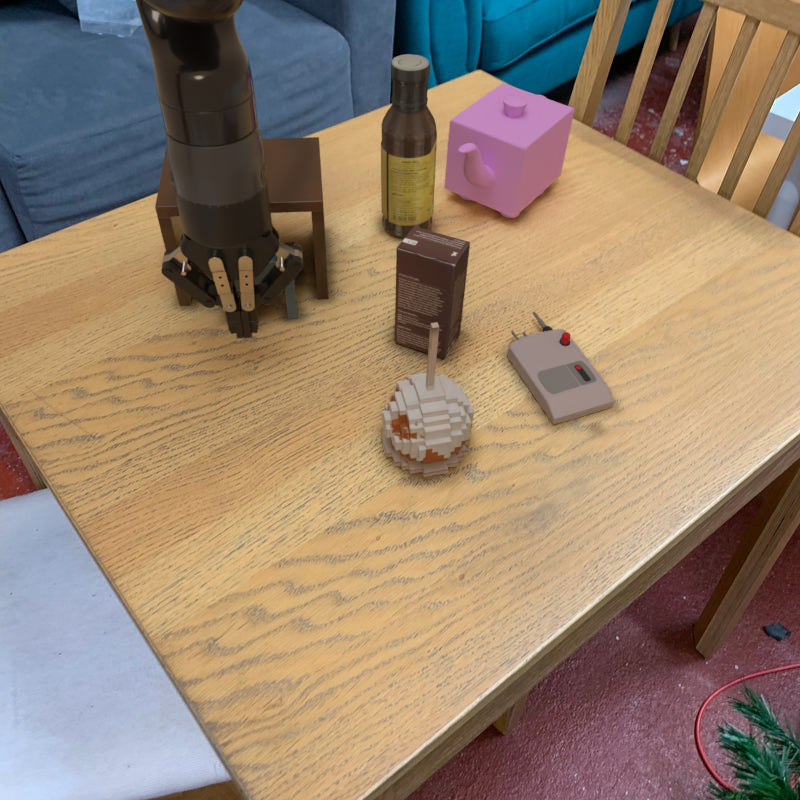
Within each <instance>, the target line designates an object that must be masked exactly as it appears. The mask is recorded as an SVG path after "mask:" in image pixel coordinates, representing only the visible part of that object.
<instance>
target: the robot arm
mask: <svg viewBox="0 0 800 800" xmlns="http://www.w3.org/2000/svg"><path fill="white" fill-rule="evenodd" d="M244 2H245V0H135V3H136V7H137V10H138V14H139V17H140V20H141V25H142V28H143V30H144V33H145V37H146V40H147V43H148V47H149V50H150V55H151V61H152V67H153V72H154V82H155V88H156V94H157V98H158V103H159V107H160V112H161V117H162V122H163V127H164V133H165V150H166V149H167V158H168V163H169V175H170V179H171V182H172V183H173V187H174V192H175V196H176V201H177V205H178V210H179V215H180V220H181V224H182V229H183V234H182V237H181V244H180V247H178V248H177V249H176V250H166V249H165V250H164V253H163V257H162V262H161V274H162V275H163V276H164V277H165V278H166V279H168V280H169V281H170V282H172V283H173V285H174V284H176V285H177V286H178V287H180V288H181V289H182V290H184V291H185V292H186V293H188V294H189V295H190V296H192V299H194V300H196V301H197V302H198V303H199V304H201V305H202V306H203V307H205V308H208V309H212V308H215V306H217V307H221V308H222V309H223V310H224V312H225V318H226V324H227V328H228V331H229V333H230V334H232V335H233V334H234V335H236V339H253V334H256V333H258V330H259V313H258V312H259V311H258V306H259V305H265V306H271V305H272V304H273V303H274V302H275V301H276V300H277V299H278V298H279V296H280V295H281V294H282V293H283V291H285V290H284V289H285V288H286V287H287V286H288V285H289V283H290V282H291V281H292V280H293V279H294V278H295V277H296V275H297V276H298V275H299V273H300V272H301V271H302V270H303V268H304V258H303V247H302V246H301V245H299V244H297V243H296V244H295V243H294V245H292V246H288V245H286V244H284V242H282V241H281V240H280V234H279V232H278V231H277V230H276V228H275V227H274V225H273V221H272V213H271V211H270V201H269V192H268V183H267V170H266V164H265V155H264V147H263V143H262V139H263V138H262V135H261V132H260V127H259V123H258V122H259V121H258V113H257V104H256V95H255V93H256V92H255V85H254V78H253V73H252V68H251V64H250V61H249V57H248V55H247V52H246V50H245V48H244V46H243V43H242V41H241V39H240V36H239V34H238V31H237V26H236V20H235V14H236V13H237V12H238V11H239V10H240V8H241V7H242V5H243V4H244ZM274 255H276V258H275V262H276V264H275V265H274V266H273V268H272V269H271V270H270V271H269V272H268V274H267V275H266V276H265V277H264V278H263V279H262V281H261V283H260V284H257V285H255V277H257V276H258V275H259V274H261V272H262V271H263V270H264V268H265V267H266V266H267V265H268V263H269V262H270V261H271V259H272V258H273V257H274ZM192 263H194V264H195V266H193V265H192ZM212 279H213V280H212ZM235 280H240V291H239V292H240V295H238V294H239V293H238V292H237V288H236V284H235Z"/></svg>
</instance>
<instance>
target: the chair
mask: <svg viewBox="0 0 800 800" xmlns="http://www.w3.org/2000/svg"><path fill="white" fill-rule="evenodd" d="M283 243H284V244H286V245H288V246H292V245H295V242H294V241H290V242H289V241H288V242H283ZM275 258H276V255H274V257H273V258H272V259H271V261H270V262H269V263H268V265H267V266H266V267H265V268H264V270H263V271H262V272H261V274H259V275H258V276H257V277H255V285H257V284H260V283H261V281H262V279H263V278H264V277H265V276H266V275H267V274H268V272H269V271H270V270H271V269H272V268H273V266H274V265H275V264H276V262H275ZM297 281H298V274H297V275H296V277H295V278H294V279H293V280H292V281H291V282H290V283H289V285H288V286H287V287H286V288H285V289H284V290H283V291H284V294H285V303H286V311H287V312H286V313H287V319H289V320H290V319H298V303H297V292H296V285H295V284H296V283H295V282H297ZM235 284H236V288H237V293H238V292H240V280H235Z"/></svg>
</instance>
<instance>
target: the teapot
mask: <svg viewBox="0 0 800 800" xmlns="http://www.w3.org/2000/svg"><path fill="white" fill-rule="evenodd" d="M575 110H576V109H575V108H574V107H573V106H569V105H566V104H563V103H561V102H558V101H555V100H552V99H549V98H547V96H545V95H542V94H536V93H532V92H529V91H527V90H523V89H521V88H518V87H515V86H512V85H510V84H506V83H504V82H503V83H501V84H499V85H497V86H496V87H495V88H493V89H492V90H491V91H489V92H488V93H486V94H484V95H483V96H481V98H479V99H477V100H476V101H475V102H473V103H472V104H471V105H469V106H468V107H466V108H465V109H464V110H462V111H461V112H459V113H457V115H455V116H454V117H452V118H451V119H450V120H449V127H448V140H447V152H446V163H445V174H444V175H445V176H444V188H443V189H445V190H448V191H450V192H452V193H455V194H457V195H458V196H459V197H460V198H461V199H463V200H466V201H473V202H476V203H478V204H480V205H483V206H485V207H488V208H489V209H492V210H494V211H497V212H499V213H500V215H501V216H502V217H505V218H509V219H514V218H518V217H519V216H520V215H521V212H522V211H523V210H524V209H526V207H528V206H529V205H530V204H531V203H532V202H533V201H535V199H537V198H538V197H539V196H541V195H543V194H544V193H545V190H547V188H549V187H550V186H551V185H552V184H553V183H554V182H555V181H556V180H557V179H559V177H561V175H562V171H563V167H564V161H565V157H566V154H567V153H566V152H567V148H568V144H569V143H568V142H569V137H570V133H571V128H572V124H573V119H574V114H575Z"/></svg>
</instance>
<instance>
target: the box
mask: <svg viewBox="0 0 800 800" xmlns="http://www.w3.org/2000/svg"><path fill="white" fill-rule="evenodd" d="M470 247H471V242H470V241H468V240H464V239H461V238H457V237H453V236H450V235H446V234H443V233H439V232H436V231H432V230H430V229H429V230H426V229H422V228H419V227H416V226H414V227H413V228H412V230H411V231H410V232H409V233H408V235H407V236H406V237H405V238H403V240H401V242H400V243H399V245H397V246H396V251H395V253H396V255H395V256H396V257H395V259H396V261H395V262H396V263H395V265H396V266H395V305H394V307H395V308H394V333H393V334H394V337H393V340H394V343H395V344H399V345H402V346H405V347H409V348H411V349H414V350H417V351H420V352H423V353H426V354H428V349H429V336H430V323H436V322H437V323H438V325H439V335H438V346H437V357H438V358H441V359H444V360H445V359H447V357H448V356H449V354H450V353H451V351H452V350H453V348H454V346H455V344H456V343H457V341H458V339H459V337H460V336H461V328H462V320H463V309H464V300H465V293H466V284H467V275H468V274H467V273H468V265H469V258H470V257H469V255H470Z"/></svg>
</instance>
